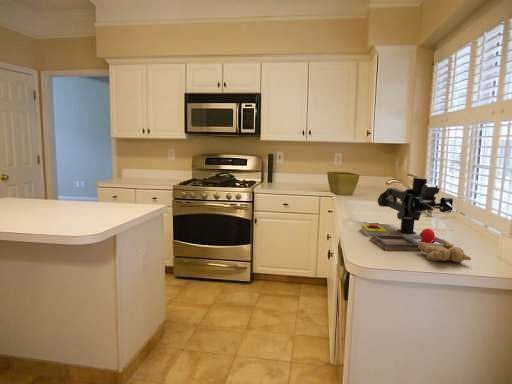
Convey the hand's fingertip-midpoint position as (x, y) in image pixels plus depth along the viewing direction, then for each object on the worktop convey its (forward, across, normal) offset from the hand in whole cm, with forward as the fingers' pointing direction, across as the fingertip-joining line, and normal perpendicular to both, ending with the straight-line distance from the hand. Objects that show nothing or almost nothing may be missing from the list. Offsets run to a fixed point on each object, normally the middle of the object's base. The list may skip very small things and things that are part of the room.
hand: (441, 208), depth 152 cm
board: (-2, -17, +17) cm, 24 cm away
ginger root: (+16, -7, +17) cm, 24 cm away
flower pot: (-146, +8, +18) cm, 147 cm away
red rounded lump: (-7, 0, +17) cm, 18 cm away
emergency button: (-21, -18, +17) cm, 33 cm away
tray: (-7, 0, +17) cm, 18 cm away
